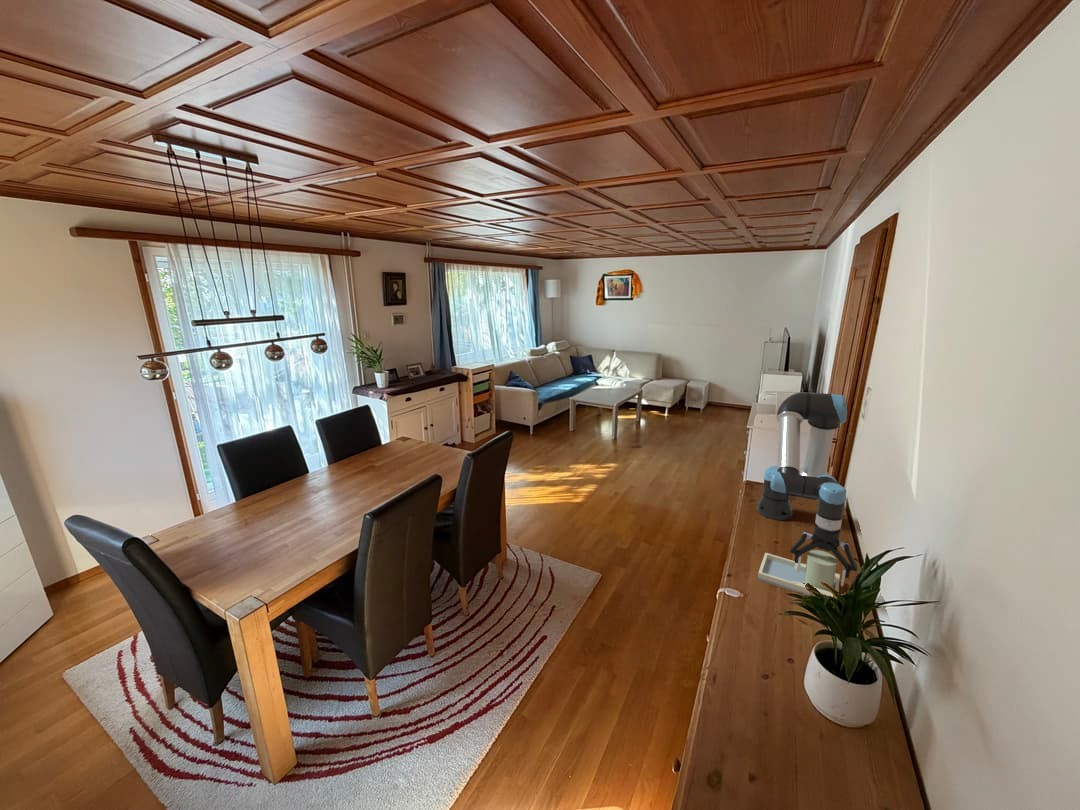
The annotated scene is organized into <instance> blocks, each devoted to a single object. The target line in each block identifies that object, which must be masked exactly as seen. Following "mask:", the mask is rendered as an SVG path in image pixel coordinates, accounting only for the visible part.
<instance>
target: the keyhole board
mask: <svg viewBox="0 0 1080 810" xmlns="http://www.w3.org/2000/svg"><path fill="white" fill-rule="evenodd" d="M806 564H807V563H802V562H801V564H800V570H799V573H798V572H797V566H798V563H795V560H791V559H788V558H785V557H781V556H778V555H776V554H775V555H774V554H772V553H768V552H764V555H763V558H762V561H761V564H760V567H759V570H758V573H757V580H758V581H761V582H764V583H766V584H767V583H768V584H770V585H773V586H777V587H779V588H783V589H785V590H788V591H792V592H794V591H796V592H795V593H797V592H800V593H803V594H802V595H803V596H806V595H811V594H810V592H809V591H808V590H807V589H806V588H805V585H806V584H803V583H804V577H805V571H806ZM840 577H841V574H840V573H836V572H835V577H834V584H833V588H834V589H835V590H837V591H838V592H840V591H839V590H840V580H841V579H840ZM814 588H816V587H814ZM816 589H817V590H818V591H819V592H820V593H821V594H823V595H826V596H831V597H833V594H832V593H831V592H829V591H825V590H822V589H819V588H816ZM800 593H799V594H800Z"/></svg>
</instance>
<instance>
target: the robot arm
mask: <svg viewBox="0 0 1080 810" xmlns="http://www.w3.org/2000/svg"><path fill="white" fill-rule="evenodd" d="M847 407H848V406H847V400H846V398H845V396H844V395H843V394H835V393H824V392H823V393H820V392H819V393H818V392H805V391H802V392H801V391H800V392H796V393H793V394H791V395H789V396H788V397H787V398H786V399H784V400H783V401H782V402H781V404H780V406H779V407H778V409H777V412H776V413H777V414H776V421H777V422H778V428H779V429H778V443H777V445H778V447H777V465H773V466H769V467H767V468H765V471H764V476H763V486H762V487H763V488H762V495H761V497H760V499H759V501H758V503H757V506H756V510H757V512H758V513H759V514H760V515H761V516H763V517H765V518H768V519H771V520H777V521H786V520H790V519H791V518H792V517H793V509H792V504H791V501H790V500H791V499H790V498H791V497H795V498H801V499H808V500H813V501H817V510H816V513H815V514H816V515H815V523H814V529H813V532H812V533H808V531H806V530H804V531H803V533H802V535H801V537H800V538H799V539H798V540H796V542H795V543H794V544H793V545H792V546H791V547H790V550H789V552H790V553H791V554H793V555H795V556H794V561H795V563H798V566H797V572H798V573H799V570H800V564H801V563H802V555H804V554H805V553H808V552H809V551H812V550H815V549H816V548H817V549H818V550H821V551H825V552H832V555H833V556H834V557H835V558H836V559H837V561H839V562H840V564H841V565H842V574H841V579H840V587H844V583H845V579H849V578H850V575H851V574H850V573H851V571H854V572H857V571H858V565H857V563H856V561H855V558H854V555H853V554H852V552H851V549H850V542H849V541H845V542H844V541H843V542H842V541H840V534H841V528H842V522H843V515H844V510H845V504H846V501H847V489H846V488H845V487H844V486H842V485H841V484H839V482H838V481H837V479H836V478H835V477H833V476H832V475H830V474H829V472H828V471H827V470H828V463H829V458H830V454H831V450H832V443H833V439H834V435H835V430H837V429H839V428H841V427H840V426H841V424H844V423H846V422H847V420H848V419H847V418H848V417H847V416H848V415H847V413H848V408H847ZM804 420H806V421H807V424H808V425H809V426H810V430H809V435H808V441H807V447H806V453H805V458H804V463H803V464H804V465H803V466H802V467H800V466H801V465H800V464H801V458H800V457H801V424H802V423H803V421H804ZM809 539H811V542H810V543H807V544H806V545H804V546H802V545H803V544H804V543H805V541H807V540H809ZM801 546H802V547H801ZM838 547H841V549H843V550H844V553H845V555H846V558H847V559H848V560H847V559H846V558H845V556H844V555H843V554H842V553H841V551H840V550H839V548H838Z"/></svg>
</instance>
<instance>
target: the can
mask: <svg viewBox="0 0 1080 810" xmlns="http://www.w3.org/2000/svg"><path fill="white" fill-rule="evenodd" d="M806 558H807V559H806V563H805V564H806V571H805V577H804V583H805V584H807V583H809V584H810V585H812V586H813V587H816V588H819V589H822V590H825V591H829V589H827V588H826V587H825V586H823V585H822V584H821V582H823V583H826V584H828V585H829V586H831V587H833V584H834V577H835V573H836V571H837V566H838V558H837V557H836V556H835V555H834V554H831V553H829V552H828V551H825V550H821V549H811V550H809V551H807V557H806ZM829 592H830V591H829Z"/></svg>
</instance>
